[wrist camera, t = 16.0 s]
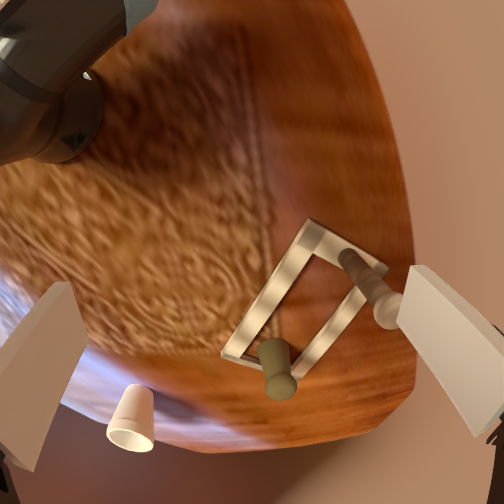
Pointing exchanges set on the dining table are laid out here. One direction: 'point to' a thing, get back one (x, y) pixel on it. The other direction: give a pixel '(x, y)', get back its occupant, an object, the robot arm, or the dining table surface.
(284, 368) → the cork
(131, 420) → the foam cup
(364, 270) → the joystick on frame
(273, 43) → the dining table surface
